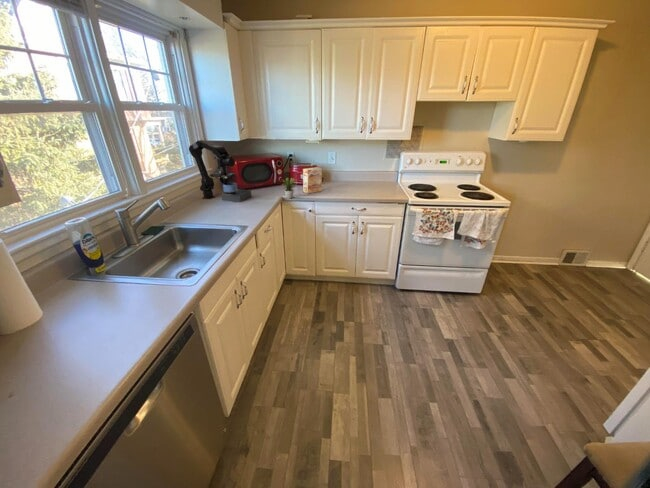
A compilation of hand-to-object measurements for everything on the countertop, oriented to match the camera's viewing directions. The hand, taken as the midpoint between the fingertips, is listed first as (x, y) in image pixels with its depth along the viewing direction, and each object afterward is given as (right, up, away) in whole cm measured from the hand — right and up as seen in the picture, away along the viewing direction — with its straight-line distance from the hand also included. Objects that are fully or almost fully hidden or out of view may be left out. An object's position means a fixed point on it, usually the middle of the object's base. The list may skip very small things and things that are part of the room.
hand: (224, 186), depth 206 cm
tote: (+6, -6, +12) cm, 15 cm away
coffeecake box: (+63, +3, +34) cm, 72 cm away
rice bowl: (+4, -3, 0) cm, 5 cm away
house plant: (+46, -6, +14) cm, 48 cm away
